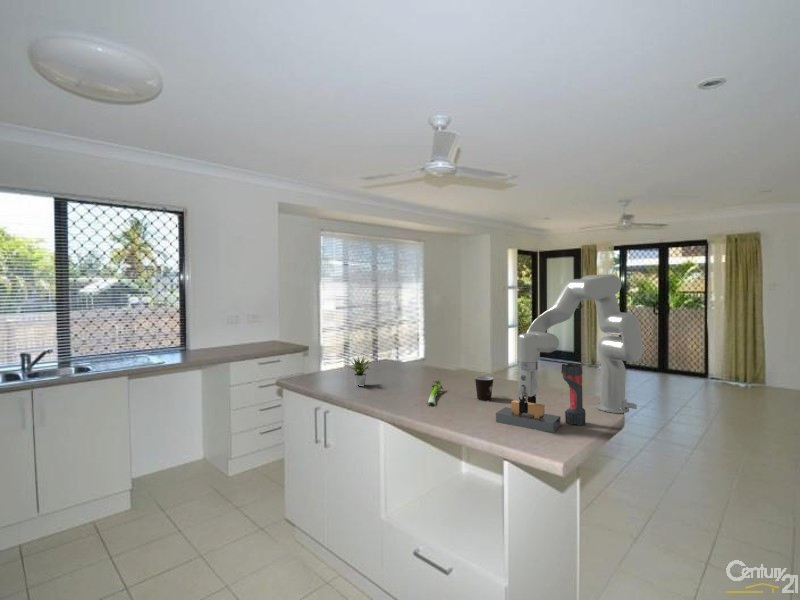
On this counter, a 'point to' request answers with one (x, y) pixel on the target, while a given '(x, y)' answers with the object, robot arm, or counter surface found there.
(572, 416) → the flashlight
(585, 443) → the counter surface
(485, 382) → the coffee mug
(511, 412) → the dark gray slotted block
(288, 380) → the counter surface
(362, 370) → the house plant
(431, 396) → the green celery stalk
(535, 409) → the tan bridge block
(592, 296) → the robot arm
